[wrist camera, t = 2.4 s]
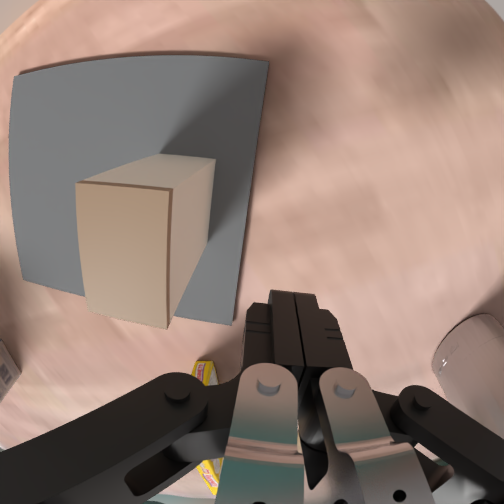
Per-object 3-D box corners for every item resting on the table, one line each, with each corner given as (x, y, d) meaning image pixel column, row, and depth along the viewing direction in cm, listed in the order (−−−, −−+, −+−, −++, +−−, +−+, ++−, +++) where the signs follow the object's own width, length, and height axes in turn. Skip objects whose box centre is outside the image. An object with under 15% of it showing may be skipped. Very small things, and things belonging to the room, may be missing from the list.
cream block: (215, 159, 19) (169, 191, 10) (207, 242, 22) (167, 329, 12) (158, 153, 19) (75, 182, 10) (154, 235, 22) (88, 311, 12)
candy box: (192, 358, 27) (172, 428, 20) (213, 359, 27) (198, 430, 19) (219, 443, 34) (211, 496, 26) (235, 443, 33) (229, 497, 26)
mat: (268, 63, 17) (268, 61, 16) (232, 322, 25) (231, 325, 24) (17, 76, 17) (14, 76, 16) (26, 277, 25) (23, 279, 24)
